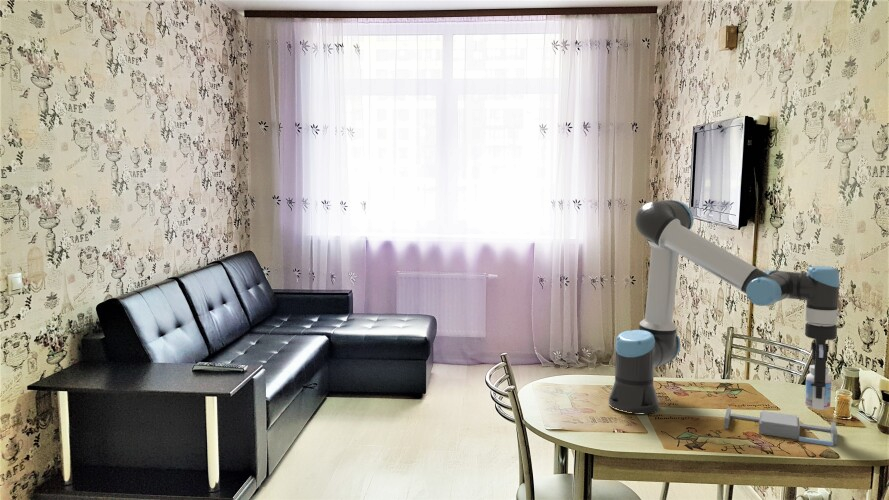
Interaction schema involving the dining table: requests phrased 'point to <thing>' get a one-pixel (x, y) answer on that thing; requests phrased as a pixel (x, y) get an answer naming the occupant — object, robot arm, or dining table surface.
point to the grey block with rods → (784, 426)
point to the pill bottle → (810, 388)
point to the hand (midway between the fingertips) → (817, 405)
